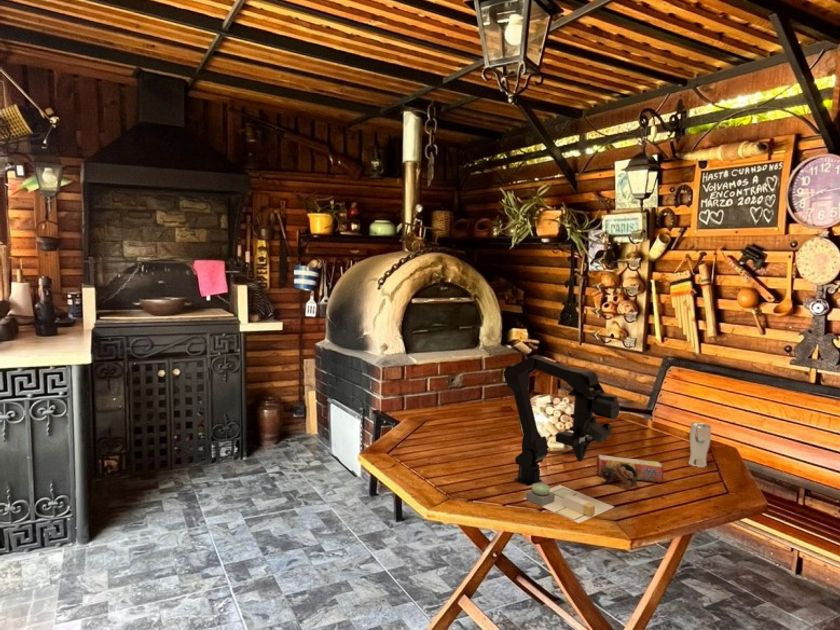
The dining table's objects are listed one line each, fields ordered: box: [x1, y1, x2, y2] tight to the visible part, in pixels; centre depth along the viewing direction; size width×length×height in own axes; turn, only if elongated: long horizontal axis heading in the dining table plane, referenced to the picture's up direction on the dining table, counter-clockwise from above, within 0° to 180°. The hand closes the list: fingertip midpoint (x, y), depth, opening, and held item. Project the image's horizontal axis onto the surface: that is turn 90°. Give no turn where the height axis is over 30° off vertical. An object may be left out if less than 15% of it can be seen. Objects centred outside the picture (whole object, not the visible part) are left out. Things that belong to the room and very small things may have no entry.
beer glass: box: [688, 422, 712, 468], centre depth 215 cm, size 7×7×15 cm
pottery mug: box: [600, 463, 638, 491], centre depth 193 cm, size 12×10×8 cm
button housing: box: [525, 489, 555, 507], centre depth 178 cm, size 6×6×3 cm
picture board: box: [523, 484, 614, 524], centre depth 177 cm, size 20×18×1 cm
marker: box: [563, 494, 595, 516], centre depth 172 cm, size 9×3×3 cm, turn 40°
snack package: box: [596, 454, 664, 484], centre depth 201 cm, size 21×7×7 cm, turn 77°
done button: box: [531, 482, 551, 496], centre depth 177 cm, size 5×5×4 cm
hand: (579, 461), depth 180 cm, fingers closed
